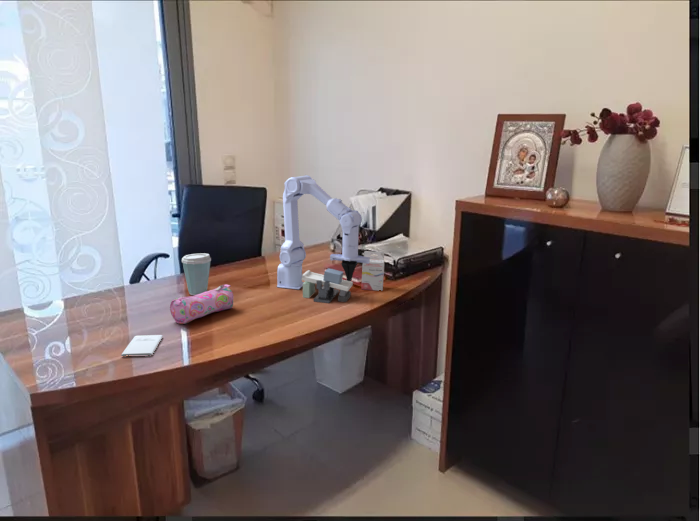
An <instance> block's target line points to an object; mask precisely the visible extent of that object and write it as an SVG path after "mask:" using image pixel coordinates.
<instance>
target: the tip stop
mask: <svg viewBox="0 0 700 521" xmlns="http://www.w3.org/2000/svg"><path fill="white" fill-rule="evenodd" d="M351 296H352V291H351V290H349V291H348V293H347V294H346V295H345V296H340V295H339V294H338V295H337V302H340V303H346V302H348V300H349V299H350V298H351Z"/></svg>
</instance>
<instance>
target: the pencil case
mask: <svg viewBox="0 0 700 521" xmlns="http://www.w3.org/2000/svg"><path fill="white" fill-rule="evenodd" d="M230 287H231V285H230V284H222V285H219V286H218V287H216V288H213V289H210V290H207V291H206V292H203V293H201V294H198V295H190V296H183V297H182V296H181V297H176V298H174V299H172V300H171V302H170V303H169V304H170V305H169V308H170V309H169V310H170V314H171V316H172V318H173V320H174V321H175V322H176V323H177V324H180V325H183V324H188V323H190V322H192V321H194V320H196V319H199V318H202V317H206V316H207V315H210V314H212V313H216V312H217V313H218V312H222V311H225V310H231V309H232V308H234V293H233V291H232V289H230Z"/></svg>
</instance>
